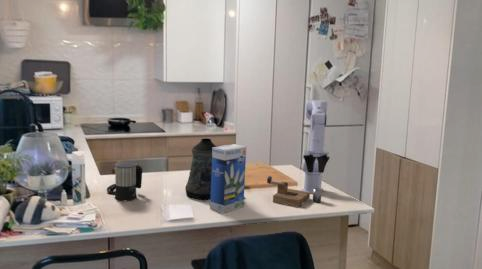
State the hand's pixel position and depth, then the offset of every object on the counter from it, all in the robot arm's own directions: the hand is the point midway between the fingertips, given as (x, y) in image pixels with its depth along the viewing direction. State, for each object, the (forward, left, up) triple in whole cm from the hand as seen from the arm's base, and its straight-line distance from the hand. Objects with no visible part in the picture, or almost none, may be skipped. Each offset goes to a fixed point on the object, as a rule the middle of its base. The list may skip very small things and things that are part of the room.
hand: (315, 172), depth 207 cm
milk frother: (+37, -75, -14) cm, 85 cm away
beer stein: (+15, -47, -14) cm, 51 cm away
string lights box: (+26, -29, -14) cm, 41 cm away
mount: (+1, -10, -14) cm, 17 cm away
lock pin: (+1, -18, -8) cm, 20 cm away
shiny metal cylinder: (-4, 0, -14) cm, 15 cm away
